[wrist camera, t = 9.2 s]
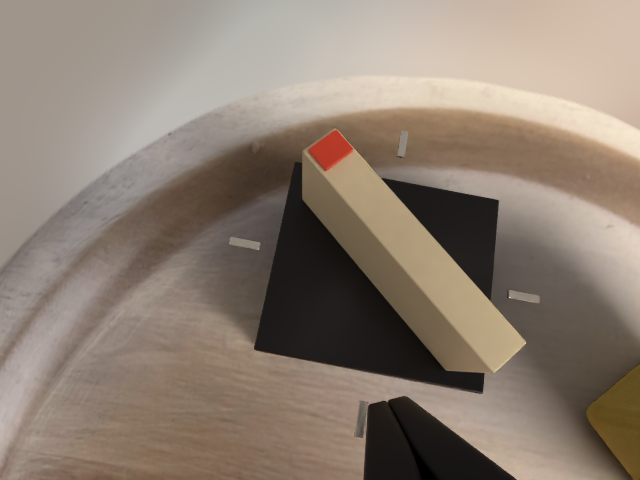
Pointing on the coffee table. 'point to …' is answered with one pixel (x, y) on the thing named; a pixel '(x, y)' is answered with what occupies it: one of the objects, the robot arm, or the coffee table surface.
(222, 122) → the coffee table surface
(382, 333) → the dial panel
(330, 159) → the pointer
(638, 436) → the flower pot
